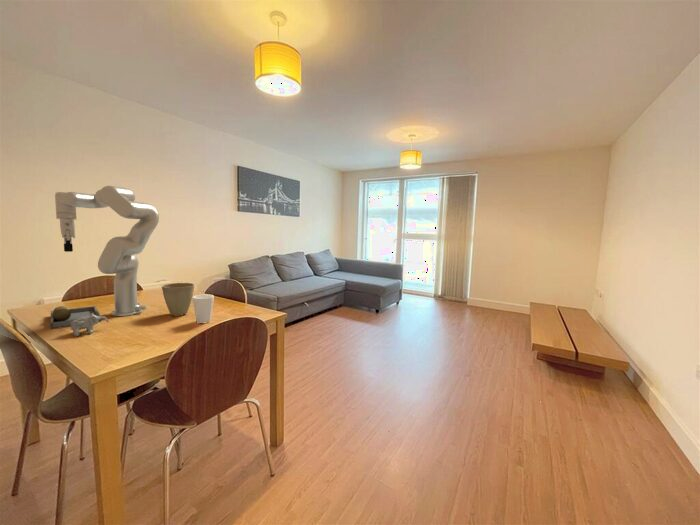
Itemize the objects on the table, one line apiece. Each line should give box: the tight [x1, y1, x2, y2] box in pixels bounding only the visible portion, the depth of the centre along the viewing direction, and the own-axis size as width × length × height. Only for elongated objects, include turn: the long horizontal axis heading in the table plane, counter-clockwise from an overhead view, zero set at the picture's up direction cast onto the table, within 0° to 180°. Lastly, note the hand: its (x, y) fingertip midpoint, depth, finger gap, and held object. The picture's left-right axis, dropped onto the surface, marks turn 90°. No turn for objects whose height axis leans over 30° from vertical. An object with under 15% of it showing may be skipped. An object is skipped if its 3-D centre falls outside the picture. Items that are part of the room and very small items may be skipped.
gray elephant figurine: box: [70, 313, 110, 338], centre depth 124 cm, size 9×12×8 cm
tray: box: [50, 305, 102, 330], centre depth 139 cm, size 24×17×2 cm
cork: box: [52, 305, 71, 322], centre depth 137 cm, size 6×6×11 cm
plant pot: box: [161, 282, 195, 316], centre depth 154 cm, size 15×15×16 cm
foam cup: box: [192, 293, 215, 324], centre depth 144 cm, size 10×9×13 cm
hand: (68, 251), depth 152 cm, fingers closed
